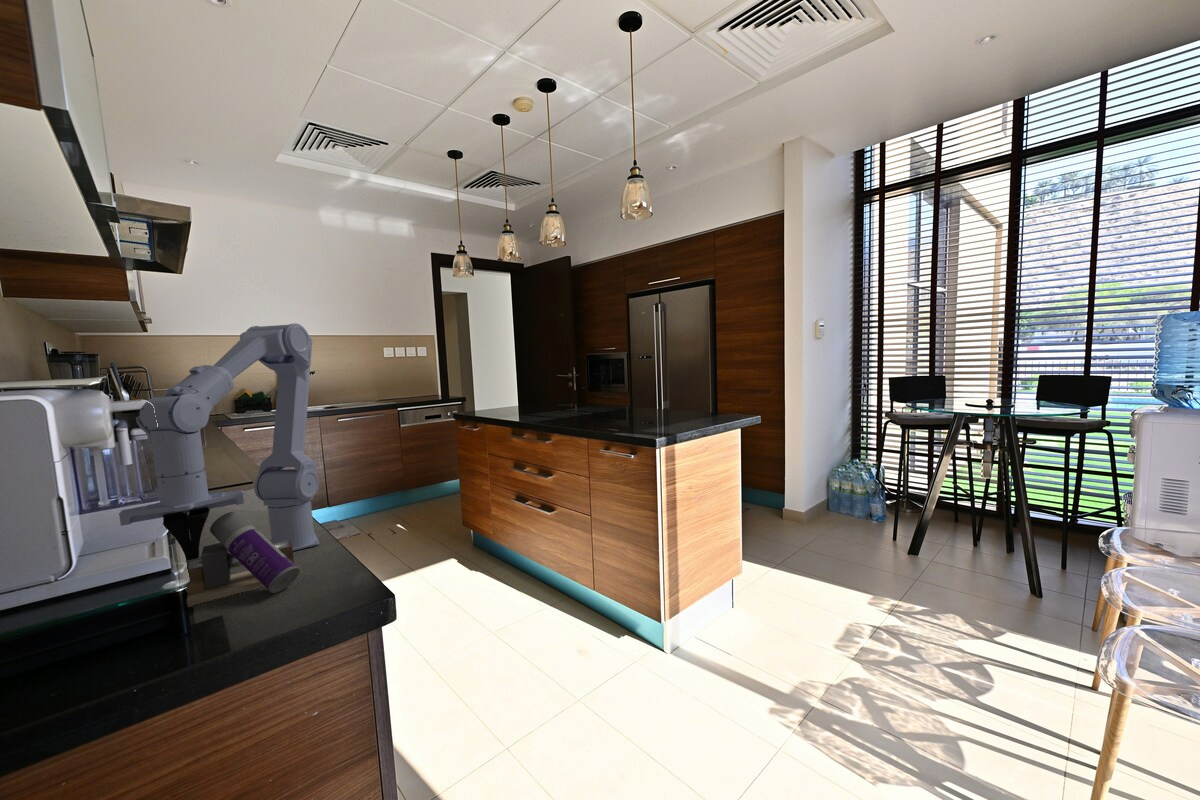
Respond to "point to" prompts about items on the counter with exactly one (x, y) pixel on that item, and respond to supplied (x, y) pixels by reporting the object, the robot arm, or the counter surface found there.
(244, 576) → the base board
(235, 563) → the dark long bar
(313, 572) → the counter surface
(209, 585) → the upright grey rectangular block
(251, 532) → the container
